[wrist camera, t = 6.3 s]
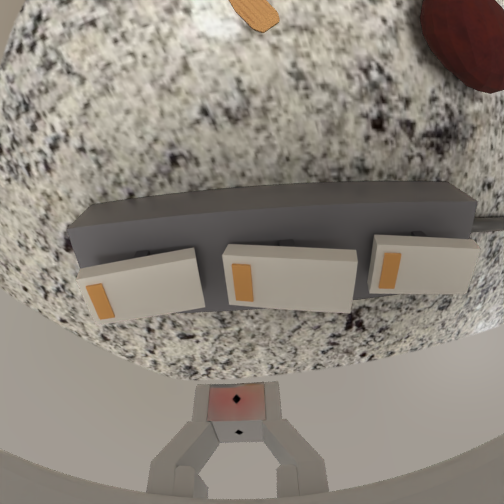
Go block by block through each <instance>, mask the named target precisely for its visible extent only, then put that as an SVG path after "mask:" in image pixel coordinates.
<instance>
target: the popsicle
mask: <svg viewBox="0 0 504 504" xmlns="http://www.w3.org/2000/svg"><path fill="white" fill-rule="evenodd" d="M229 1H230V3H231V4H232V6H233V8H234V10H235V11H236V12H237V13H238V14H239V15H240V16H241V17H242V18H243V19H244V20H245V21H246V22H247V23H248V24H249V26H250V27H251V28H252V29H254V30H256V31H259V32H261V33H264V32H265V31H267V30H268V29H270V28H271V27H273V26H274V25H276V24H277V23H279V16H278V13H277V11H276V10H275V9H274V8H273V7H272V6H271V5H270V4H269V3H268V2H267V1H266V0H229Z"/></svg>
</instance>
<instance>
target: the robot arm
mask: <svg viewBox="0 0 504 504" xmlns="http://www.w3.org/2000/svg"><path fill="white" fill-rule="evenodd" d="M264 387H265V388H264ZM263 441H264V443H265V444H266V446H267V447H268V448H269V450H270V451H271V452H272V454H273V455H274V456H275V458H276V459H277V460H278V461H279V463H280V464H281V465H280V466H279V467H278V468H277V498H267V499H208V487H207V485H206V484H205V483H204V481H203V480H202V479H201V477H200V476H199V475H198V474H199V472H200V471H201V469H202V468H203V467H204V465H205V464H206V463H207V461H208V460H209V458H210V457H211V456H212V454H213V453H214V451H215V450H216V448H217V447H218V446H219V443H224V442H225V443H228V442H263ZM0 504H504V434H502V435H500V436H498V437H497V438H494V439H492V440H490V441H488V442H486V443H484V444H482V445H480V446H478V447H476V448H473V449H471V450H469V451H467V452H464V453H462V454H460V455H457V456H455V457H453V458H450V459H448V460H445V461H442V462H440V463H437V464H434V465H432V466H429V467H426V468H423V469H420V470H417V471H414V472H411V473H408V474H405V475H401V476H398V477H395V478H391V479H387V480H383V481H379V482H375V483H372V484H367V485H363V486H358V487H353V488H349V489H343V490H337V491H332V492H329V488H328V481H327V475H326V468H325V462H324V459H323V458H322V457H321V456H320V455H319V454H318V453H317V452H316V451H315V450H314V449H313V448H312V447H311V445H310V444H309V443H308V442H307V441H306V440H305V439H304V438H303V437H302V436H301V435H300V434H299V433H298V432H297V430H296V429H295V428H294V427H293V426H292V425H291V424H290V423H289V422H288V420H287V419H282V413H281V402H280V392H279V383H278V381H274V382H257V383H241V384H198V385H197V386H196V390H195V398H194V407H193V415H192V421H190V422H187V423H186V424H185V425H184V427H183V428H182V429H181V430H180V431H179V432H178V433H177V434H176V435H175V436H174V438H173V439H172V440H171V441H170V442H169V443H168V444H167V445H166V446H165V447H164V449H163V450H162V451H161V452H160V453H159V454H158V455H157V456H156V457H155V458H154V459H153V460H152V461H151V465H150V471H149V478H148V485H147V491H146V493H145V492H139V491H134V490H128V489H122V488H118V487H113V486H109V485H104V484H100V483H96V482H92V481H88V480H85V479H81V478H77V477H74V476H71V475H67V474H64V473H61V472H58V471H55V470H52V469H49V468H46V467H43V466H41V465H38V464H35V463H33V462H30V461H28V460H25V459H23V458H20V457H18V456H16V455H13V454H11V453H9V452H7V451H4V450H2V449H0Z"/></svg>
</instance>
